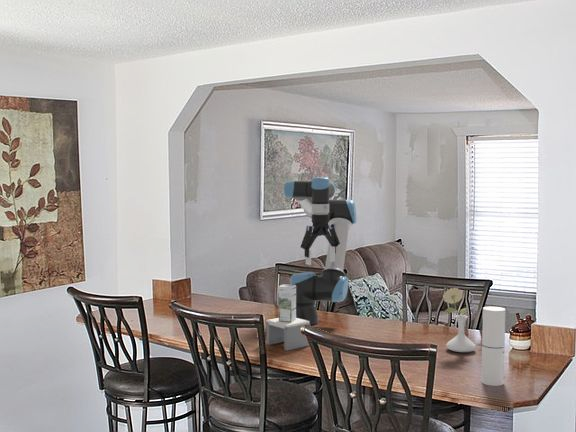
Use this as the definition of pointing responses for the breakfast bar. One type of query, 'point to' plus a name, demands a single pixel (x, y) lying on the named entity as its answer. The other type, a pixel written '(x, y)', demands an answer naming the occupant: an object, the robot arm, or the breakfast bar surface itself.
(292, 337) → the low shelf
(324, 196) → the robot arm
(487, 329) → the cylindrical container
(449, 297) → the flower in vase
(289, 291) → the syrup box
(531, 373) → the breakfast bar surface
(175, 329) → the breakfast bar surface
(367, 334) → the breakfast bar surface
